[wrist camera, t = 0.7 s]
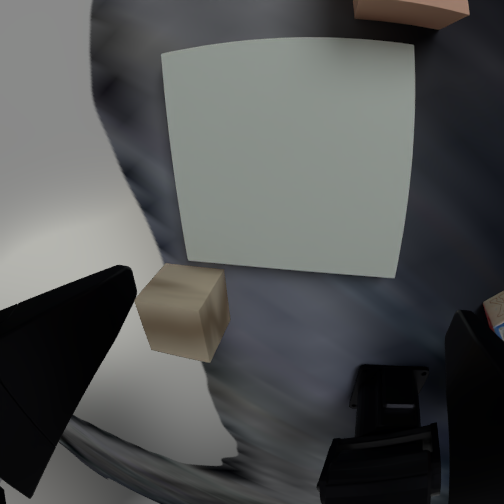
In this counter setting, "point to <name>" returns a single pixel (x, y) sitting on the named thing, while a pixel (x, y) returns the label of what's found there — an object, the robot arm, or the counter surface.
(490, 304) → the stack of blocks
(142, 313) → the beech brick
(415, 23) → the brownish pink cube
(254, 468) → the counter surface
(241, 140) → the baseplate
